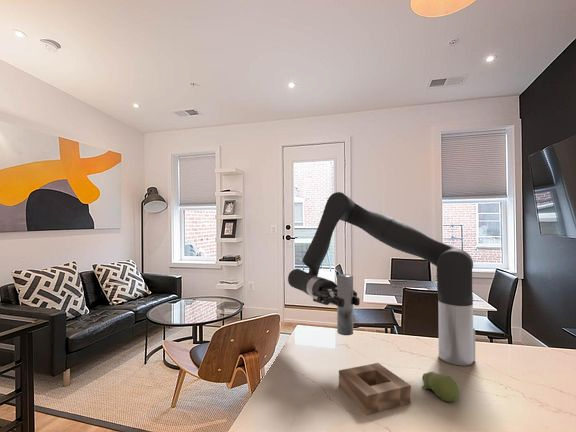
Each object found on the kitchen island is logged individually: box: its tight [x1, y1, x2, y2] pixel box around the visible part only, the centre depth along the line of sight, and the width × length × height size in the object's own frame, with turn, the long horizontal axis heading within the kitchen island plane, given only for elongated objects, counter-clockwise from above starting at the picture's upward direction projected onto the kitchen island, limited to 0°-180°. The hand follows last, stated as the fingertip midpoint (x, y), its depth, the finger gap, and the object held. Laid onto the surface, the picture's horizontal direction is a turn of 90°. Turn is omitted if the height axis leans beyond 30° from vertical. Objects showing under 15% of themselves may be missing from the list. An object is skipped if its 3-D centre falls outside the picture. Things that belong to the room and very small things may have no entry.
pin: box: [336, 273, 354, 336], centre depth 87 cm, size 4×4×16 cm
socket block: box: [338, 362, 412, 415], centre depth 74 cm, size 12×12×4 cm
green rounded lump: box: [422, 371, 461, 403], centre depth 75 cm, size 6×5×10 cm
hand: (350, 302), depth 84 cm, fingers closed on pin, 4 cm apart
